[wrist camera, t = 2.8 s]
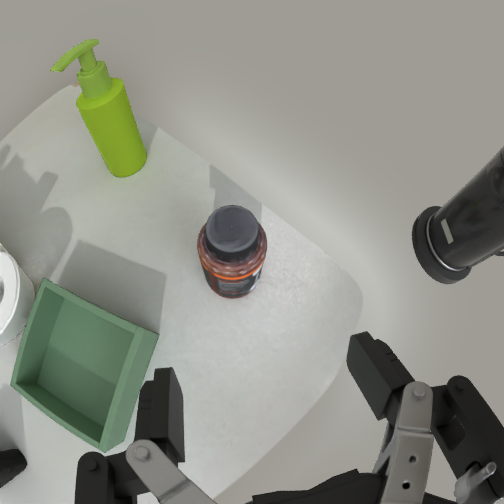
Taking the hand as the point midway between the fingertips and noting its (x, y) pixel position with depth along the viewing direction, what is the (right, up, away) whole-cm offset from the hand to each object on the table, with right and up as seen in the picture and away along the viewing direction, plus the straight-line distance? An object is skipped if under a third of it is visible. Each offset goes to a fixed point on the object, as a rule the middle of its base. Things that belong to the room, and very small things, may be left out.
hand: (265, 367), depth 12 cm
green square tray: (-19, -8, +15) cm, 25 cm away
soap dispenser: (-19, +18, +25) cm, 36 cm away
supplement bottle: (-3, +3, +20) cm, 21 cm away
